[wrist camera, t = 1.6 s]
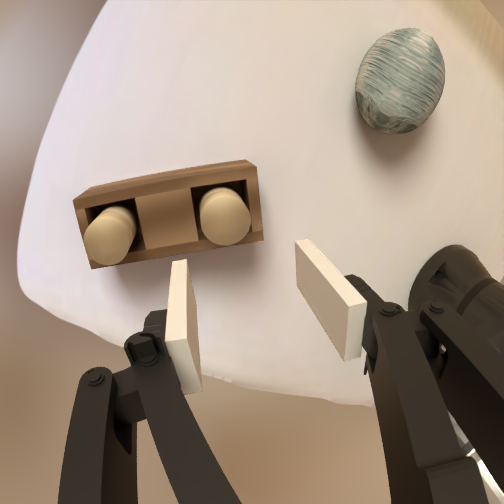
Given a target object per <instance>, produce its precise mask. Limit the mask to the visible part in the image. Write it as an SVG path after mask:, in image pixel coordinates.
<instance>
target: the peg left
mask: <svg viewBox="0 0 504 504" xmlns="http://www.w3.org/2000/svg"><path fill="white" fill-rule="evenodd" d="M137 230H138V220H137V217H136V215H135V213H134V212H133V211H132V210H131V209H130V208H129V207H127V206H125V205H122V204H113V205H110V206H108V207H107V208H105V209H104V210H103V211H102V212H101V214H100V215H99V216H98V217H97V218H96V219H95V220H94V221H93V222H92V223H91V224H90V225H89V226H88V228H87V229H86V231H85V234H84V246H85V249H86V252H87V253H88V255H89V256H90V257H91V258H92V259H93V260H94V261H96V262H97V263H100V264H103V265H114V264H117V263H119V262H120V261H122V260H123V259H124V257H125V256H126V254H127V252H128V250H129V248H130V246H131V244H132V241H133V239H134V237H135V235H136V233H137Z"/></svg>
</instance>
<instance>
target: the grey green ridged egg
mask: <svg viewBox="0 0 504 504" xmlns="http://www.w3.org/2000/svg"><path fill="white" fill-rule="evenodd" d="M444 83H445V65H444V60H443V57H442V54H441V51H440V49H439V47H438V45H437V44H436V42H435V41H434V39H433V38H432V37H431V36H430V35H429V34H428V33H426V32H425V31H423V30H420V29H415V28H403V29H399V30H395V31H392V32H390V33H388V34H386V35H384V36H382V37H381V38H380V39H378V40H377V41H376V42H375V44H373V45H372V47H371V48H370V49H369V50H368V52H367V53H366V55H365V57H364V58H363V61H362V63H361V65H360V68H359V72H358V75H357V79H356V86H355V93H356V101H357V105H358V108H359V110H360V112H361V114H362V116H363V118H364V119H365V121H366V122H367V123H368V124H369V125H370V126H371V127H373V128H374V129H375V130H378V131H380V132H382V133H386V134H401V133H406V132H409V131H412V130H414V129H416V128H417V127H418V126H420V125H421V124H423V123H424V122H425V121H426V120H427V119H428V117H429V116H430V115H431V113H432V112H433V111H434V109H435V108H436V106H437V104H438V102H439V100H440V98H441V95H442V92H443V88H444Z"/></svg>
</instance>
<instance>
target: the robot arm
mask: <svg viewBox="0 0 504 504" xmlns="http://www.w3.org/2000/svg"><path fill="white" fill-rule="evenodd" d="M295 254H296V275H297V287H298V289H299V290H300V292H301V293H302V295H303V296H304V298H305V300H306V301H307V303H308V304H309V306H310V308H311V309H312V311H313V312H314V314H315V316H316V317H317V319H318V320H319V322H320V324H321V325H322V327H323V328H324V330H325V332H326V333H327V335H328V337H329V338H330V340H331V341H332V343H333V345H334V346H335V348H336V349H337V351H338V353H339V354H340V356H341V358H342V359H343V361H344V362H345V361H348V360H352V359H355V358H358V357H361V350H362V346H363V348H364V349H365V351H366V352H367V355H366V362H365V368H364V375H366V373H367V370H368V373H369V378H370V382H371V387H372V391H373V396H374V401H375V406H376V410H377V416H378V421H379V426H380V431H381V437H382V442H383V448H384V454H385V460H386V467H387V473H388V480H389V487H390V495H391V504H504V285H502V284H501V283H499V282H498V281H496V280H495V279H493V278H492V277H491V275H490V274H489V273H488V271H487V270H486V268H485V267H484V266H483V264H482V263H481V262H480V261H479V259H478V257H477V256H476V255H475V254H474V253H473V252H472V251H470V250H468V249H467V248H465V247H463V246H461V245H450V246H447V247H445V248H443V249H441V250H440V251H438V252H437V253H435V254H434V255H433V256H432V257H431V258H430V259H429V260H428V261H427V262H426V264H425V265H424V266H423V268H422V269H421V270H420V272H419V274H418V275H417V277H416V279H415V281H414V284H413V286H412V289H411V292H410V297H409V311H405V310H404V309H403V308H402V307H401V306H400V305H398V304H396V303H392V302H384V301H383V300H382V299H381V298H380V297H379V296H378V295H377V294H376V293H375V292H374V291H373V290H371V288H370V287H369V286H368V285H367V284H366V283H365V282H364V281H363V280H362V279H361V278H359V277H357V276H355V275H353V274H352V275H347V276H343V275H342V274H341V273H340V272H339V271H338V270H337V269H336V268H335V266H334V265H333V264H332V263H331V262H330V261H329V260H328V259H327V258H326V257H325V256H324V255H323V254H322V253H321V252H320V251H319V250H318V249H317V247H316V246H315V245H314V244H313V243H312V242H311V241H310V240H309V239H305V240H299V241H295ZM442 344H443V346H444V347H445V348H446V351H445V352H444V351H443V350H442V349H441V347H442ZM124 349H125V352H126V354H127V356H128V359H129V361H130V363H131V366H130V367H129V368H127V369H125V370H123V371H120V372H117V373H114V374H112V372H111V371H110V370H109V369H108V368H105V367H96V368H92V369H90V370H88V371H87V372H85V374H83V375H82V377H81V379H80V381H79V385H78V389H77V393H76V397H75V402H74V406H73V411H72V415H71V420H70V425H69V430H68V435H67V441H66V446H65V452H64V458H63V465H62V472H61V479H60V487H59V495H58V504H138V497H137V422H138V421H141V420H144V419H147V421H148V424H149V427H150V430H151V433H152V436H153V439H154V441H155V445H156V447H157V450H158V452H159V456H160V458H161V461H162V464H163V466H164V469H165V471H166V474H167V476H168V479H169V481H170V484H171V486H172V488H173V491H174V493H175V496H176V498H177V500H178V503H179V504H242V503H241V502H240V500H239V498H238V496H237V495H236V493H235V492H234V490H233V488H232V486H231V485H230V483H229V481H228V480H227V478H226V476H225V475H224V473H223V471H222V469H221V467H220V465H219V464H218V462H217V460H216V458H215V456H214V454H213V453H212V451H211V449H210V447H209V445H208V443H207V441H206V439H205V437H204V435H203V434H202V432H201V430H200V428H199V426H198V424H197V422H196V420H195V418H194V416H193V413H192V411H191V409H190V408H189V405H188V403H187V401H186V399H185V397H184V395H186V394H193V393H200V392H203V389H202V378H201V366H200V354H199V340H198V325H197V308H196V301H195V296H194V291H193V287H192V282H191V277H190V273H189V268H188V263H187V259H184V260H178V261H172V269H171V278H170V288H169V298H168V309H165V310H158V311H151V312H150V313H149V315H148V316H147V317H146V318H145V323H144V328H143V331H142V332H138V333H135V334H133V335H132V336H130V337H129V338H128V339H127V340H126V342H125V343H124ZM181 389H182V390H181Z"/></svg>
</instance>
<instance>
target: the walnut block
mask: <svg viewBox="0 0 504 504" xmlns="http://www.w3.org/2000/svg"><path fill="white" fill-rule="evenodd" d="M219 185H223V186H228V187H230V188H232V189H234V190H235V191H236V192H237V193H238V195H239V196H240V198H241V199H242V201H243V202H244V204H245V205H246V207H247V208H248V210H249V213H250V216H251V225H250V228H249V231H248V233H247V234H246V236H245V237H244V238H243V239H242V240H240V241H239V242H237V243H235V244H232V245H238V244H245V243H251V242H257V241H263V240H264V238H263V227H262V217H261V207H260V196H259V186H258V177H257V167H256V166H255V165H253V164H252V163H250V162H249V161H247V160H239V161H231V162H224V163H217V164H210V165H203V166H197V167H191V168H185V169H179V170H173V171H167V172H162V173H157V174H151V175H146V176H141V177H136V178H131V179H126V180H121V181H117V182H112V183H108V184H103V185H99V186H95V187H91V188H89V189H88V190H87V191H85V192H84V193H82V194H81V195H79V196H78V197H76V198H75V199H74V200H73V204H74V208H75V212H76V216H77V220H78V224H79V228H80V232H81V235H82V239H83V243H84V234H85V231H86V229H87V228H88V226H89V225H90V224H91V223H92V222H93V221H94V220H95V219H96V218H97V217H98V216H99V215H100V214H101V212H102V211H103V210H104V209H105V208H107V207H108V206H110V205H113V204H122V205H125V206H127V207H129V208H130V209H131V210H132V211H133V212H134V213H135V215H136V217H137V220H138V230H137V233H136V235H135V237H134V239H133V241H132V244H131V246H130V248H129V250H128V252H127V254H126V256H125V257H124V259H123V260H122V261H120V262H119V263H117V264H114V265H120V264H125V263H131V262H137V261H143V260H149V259H155V258H160V257H166V256H172V255H178V254H184V253H190V252H196V251H202V250H208V249H214V248H220V247H226V246H232V245H218V244H215V243H213V242H211V241H210V240H209V239H208V238H207V237H206V236H205V235H204V233H203V231H202V228H201V221H200V210H199V204H200V200H201V197H202V196H203V194H204V193H205V192H206V191H207V190H208V189H210V188H212V187H214V186H219ZM85 250H86V249H85ZM86 253H87V252H86ZM87 256H88V260H89V263H90V266H91V269H97V268H102V267H108V266H114V265H103V264H100V263H97V262H96V261H94V260H93V259H92V258H91V257H90V256H89V255H88V253H87Z"/></svg>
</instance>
